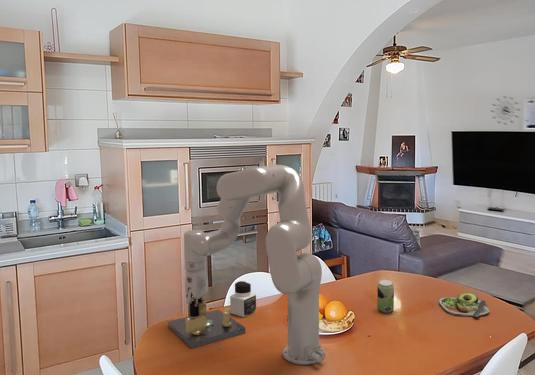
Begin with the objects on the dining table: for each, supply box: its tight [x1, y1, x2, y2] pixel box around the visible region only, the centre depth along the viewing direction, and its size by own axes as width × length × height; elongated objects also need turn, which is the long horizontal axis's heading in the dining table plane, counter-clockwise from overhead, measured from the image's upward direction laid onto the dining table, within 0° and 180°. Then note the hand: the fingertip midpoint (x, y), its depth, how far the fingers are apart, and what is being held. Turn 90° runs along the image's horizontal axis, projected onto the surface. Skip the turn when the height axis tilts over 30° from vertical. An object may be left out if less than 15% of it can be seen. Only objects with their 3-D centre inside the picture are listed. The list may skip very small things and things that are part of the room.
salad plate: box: [438, 292, 490, 318], centre depth 175 cm, size 19×18×5 cm
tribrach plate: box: [167, 309, 246, 349], centre depth 160 cm, size 20×20×4 cm
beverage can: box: [376, 279, 395, 314], centre depth 174 cm, size 6×7×12 cm
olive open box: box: [187, 301, 207, 317], centre depth 166 cm, size 3×6×6 cm, turn 98°
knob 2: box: [222, 306, 231, 327], centre depth 159 cm, size 3×6×6 cm, turn 0°
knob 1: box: [186, 315, 206, 335], centre depth 152 cm, size 3×6×6 cm, turn 123°
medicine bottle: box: [229, 280, 257, 318], centre depth 175 cm, size 7×7×12 cm
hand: (197, 314), depth 166 cm, fingers closed on olive open box, 3 cm apart
